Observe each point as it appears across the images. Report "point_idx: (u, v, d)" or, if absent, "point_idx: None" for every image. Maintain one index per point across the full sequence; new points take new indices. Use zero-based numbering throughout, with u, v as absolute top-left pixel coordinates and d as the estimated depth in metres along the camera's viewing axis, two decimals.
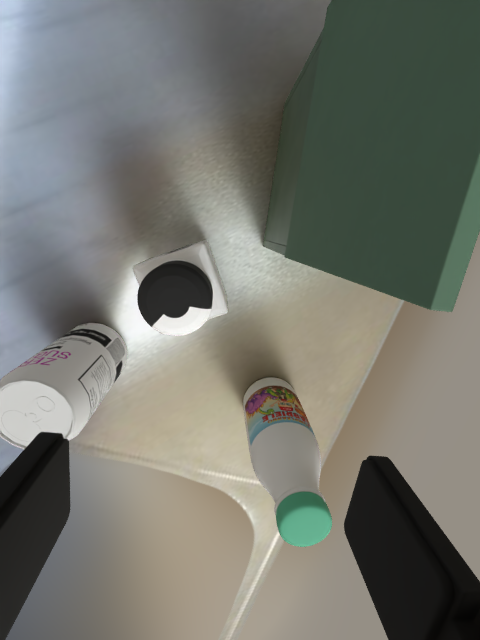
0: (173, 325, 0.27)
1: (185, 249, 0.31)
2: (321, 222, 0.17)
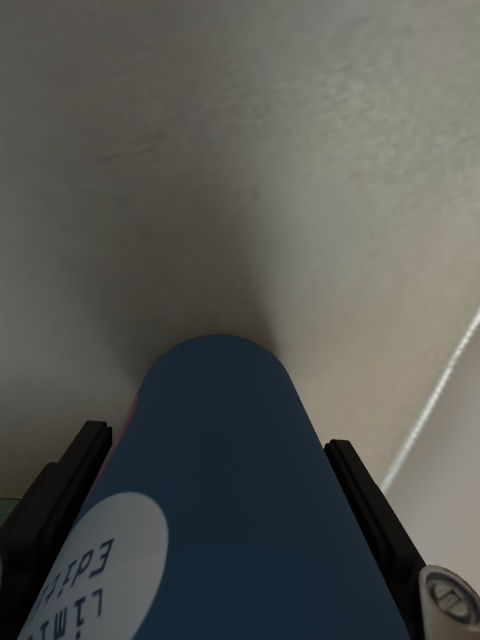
0: None
1: None
2: None
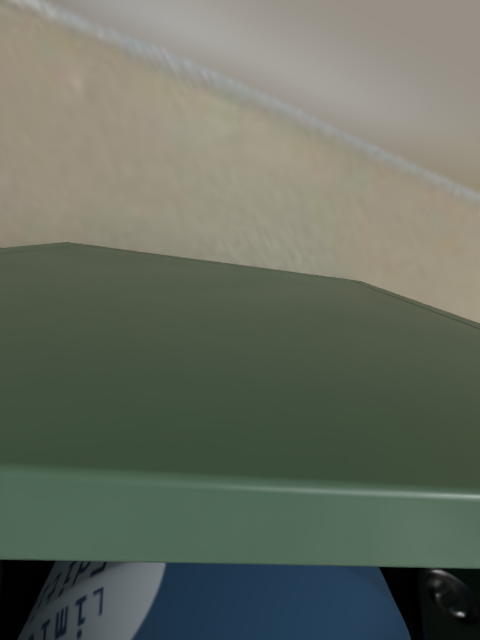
0: None
1: None
2: None
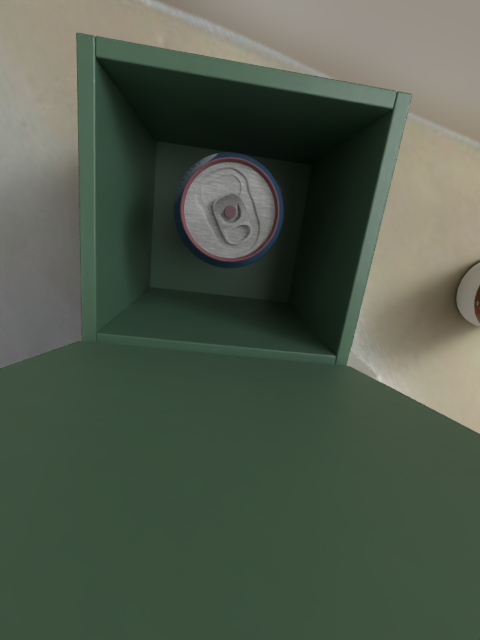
0: None
1: None
2: None
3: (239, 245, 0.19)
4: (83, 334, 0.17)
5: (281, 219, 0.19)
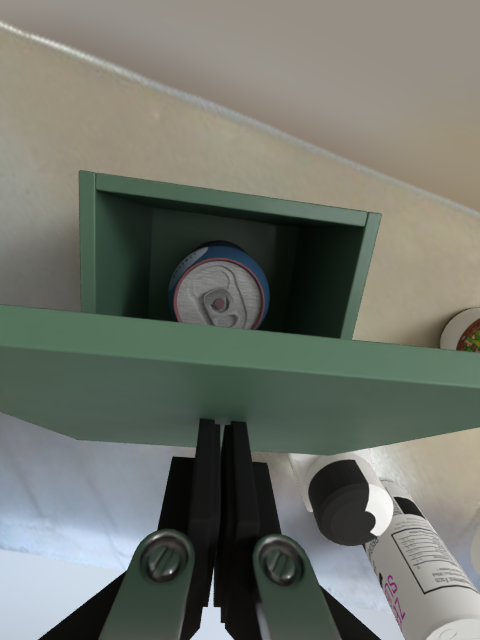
0: (383, 523, 0.25)
1: (294, 470, 0.30)
2: (326, 443, 0.14)
3: None
4: None
5: (267, 304, 0.21)
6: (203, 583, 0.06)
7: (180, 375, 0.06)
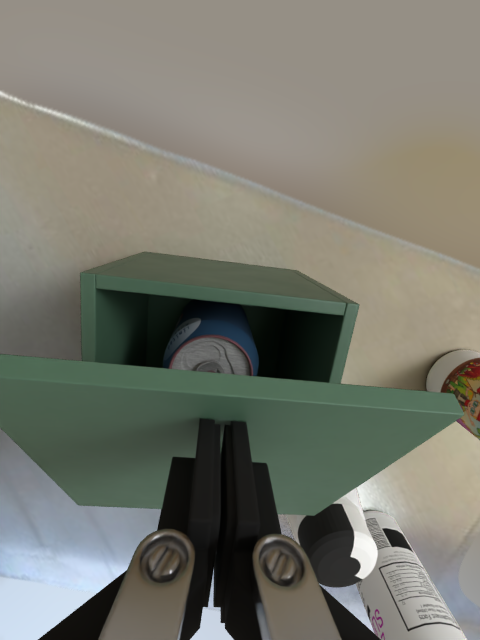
0: (368, 567, 0.27)
1: None
2: (303, 490, 0.17)
3: None
4: None
5: (256, 370, 0.22)
6: (203, 583, 0.06)
7: (185, 404, 0.10)
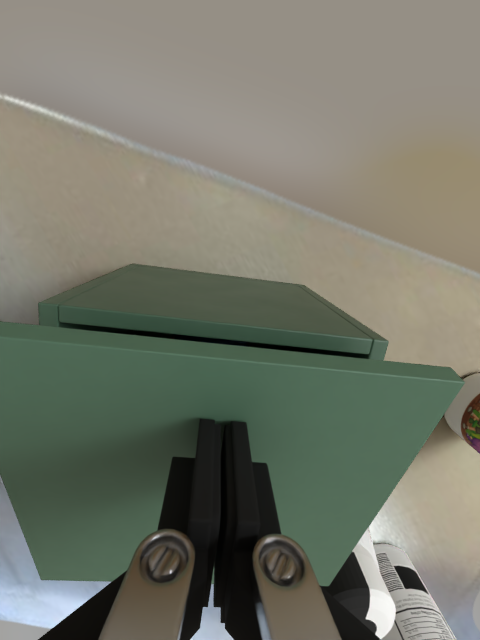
0: (385, 629, 0.23)
1: None
2: (313, 531, 0.14)
3: None
4: None
5: None
6: (203, 583, 0.06)
7: (185, 375, 0.10)
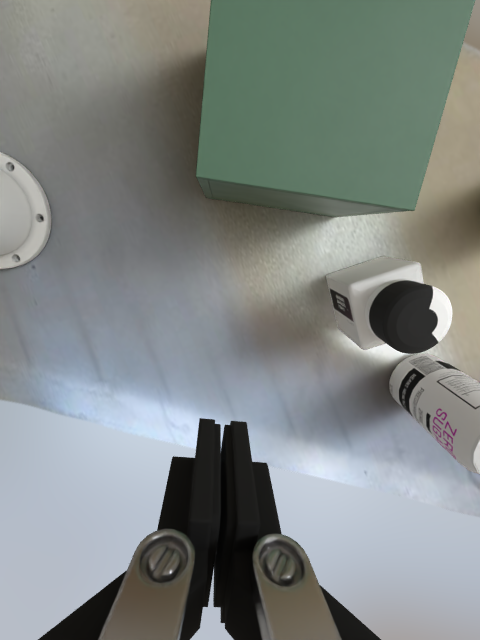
0: (444, 324, 0.28)
1: (353, 302, 0.32)
2: (405, 109, 0.20)
3: None
4: None
5: None
6: (203, 583, 0.06)
7: None
